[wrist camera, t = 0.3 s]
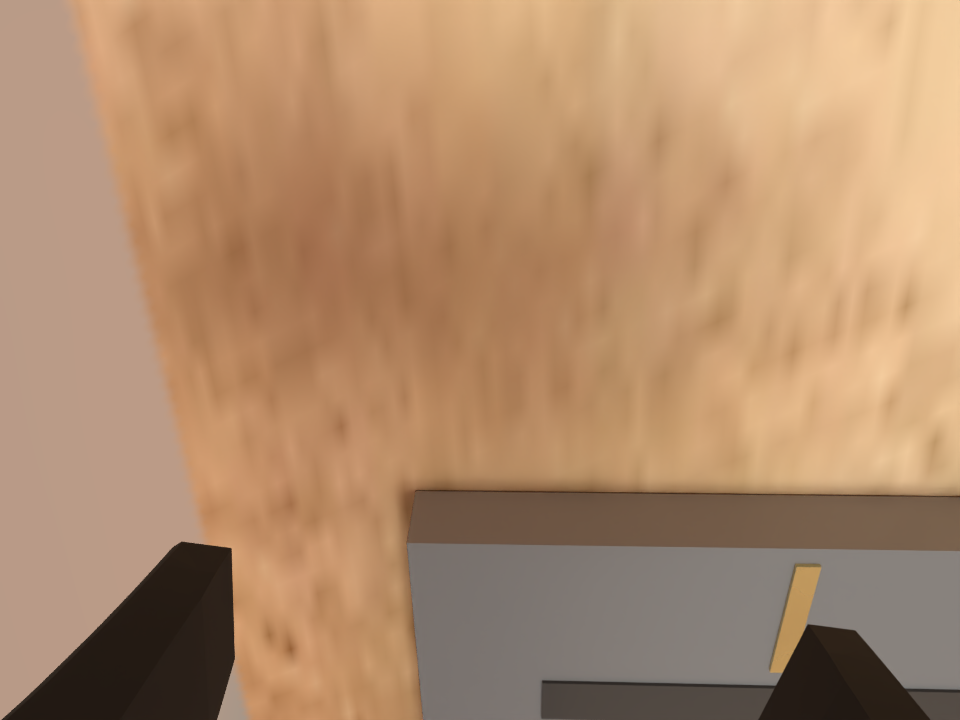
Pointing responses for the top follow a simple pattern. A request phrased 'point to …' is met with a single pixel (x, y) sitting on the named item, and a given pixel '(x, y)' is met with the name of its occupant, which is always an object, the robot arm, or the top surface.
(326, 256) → the top surface
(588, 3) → the top surface
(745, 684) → the fader console
